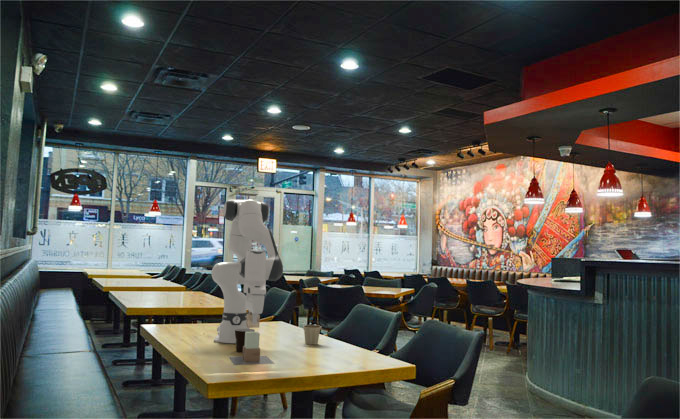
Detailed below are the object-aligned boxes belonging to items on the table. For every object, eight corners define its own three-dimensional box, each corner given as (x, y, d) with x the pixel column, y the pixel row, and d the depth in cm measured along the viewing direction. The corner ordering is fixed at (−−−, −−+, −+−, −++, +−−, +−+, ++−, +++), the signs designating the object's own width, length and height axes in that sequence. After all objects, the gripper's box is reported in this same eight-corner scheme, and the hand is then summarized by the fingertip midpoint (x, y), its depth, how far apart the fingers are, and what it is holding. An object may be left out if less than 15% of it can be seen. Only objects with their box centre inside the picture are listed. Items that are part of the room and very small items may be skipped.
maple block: (246, 326, 216) (246, 313, 216) (257, 326, 217) (257, 313, 218) (248, 327, 211) (248, 315, 212) (259, 327, 213) (259, 315, 213)
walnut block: (242, 358, 215) (243, 346, 215) (256, 358, 217) (257, 346, 217) (244, 361, 209) (245, 349, 210) (259, 361, 211) (260, 348, 212)
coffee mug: (249, 355, 227) (250, 331, 228) (230, 353, 228) (231, 330, 229) (258, 350, 238) (259, 328, 239) (240, 349, 240) (242, 327, 241)
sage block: (244, 346, 215) (245, 331, 216) (256, 346, 217) (257, 331, 217) (246, 348, 211) (247, 333, 211) (258, 348, 212) (259, 333, 213)
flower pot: (320, 345, 257) (321, 327, 258) (301, 345, 257) (302, 327, 258) (321, 342, 267) (322, 325, 267) (302, 341, 267) (303, 324, 267)
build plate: (228, 358, 218) (228, 356, 218) (266, 357, 223) (266, 355, 223) (233, 366, 203) (233, 364, 203) (274, 365, 208) (274, 363, 208)
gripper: (242, 286, 224) (241, 319, 223) (251, 290, 205) (249, 326, 204) (257, 287, 227) (256, 319, 225) (267, 290, 207) (265, 326, 206)
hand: (252, 322), depth 214 cm, fingers closed on maple block, 4 cm apart
